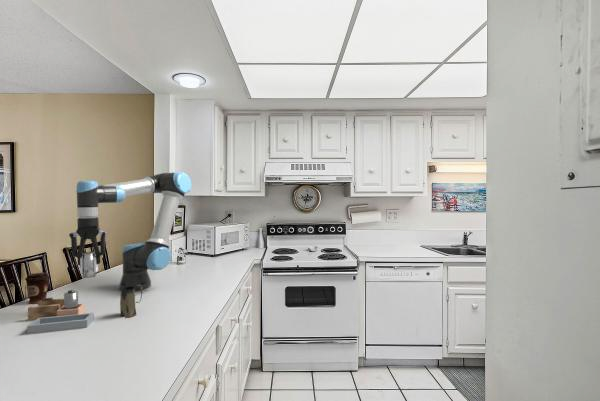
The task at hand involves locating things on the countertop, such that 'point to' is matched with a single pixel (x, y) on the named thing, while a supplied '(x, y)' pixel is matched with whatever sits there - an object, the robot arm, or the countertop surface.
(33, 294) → the coffee cup
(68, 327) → the trough
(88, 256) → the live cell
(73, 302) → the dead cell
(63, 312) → the pink square tray
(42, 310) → the checker cradle
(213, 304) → the countertop surface
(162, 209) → the robot arm
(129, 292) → the mug
